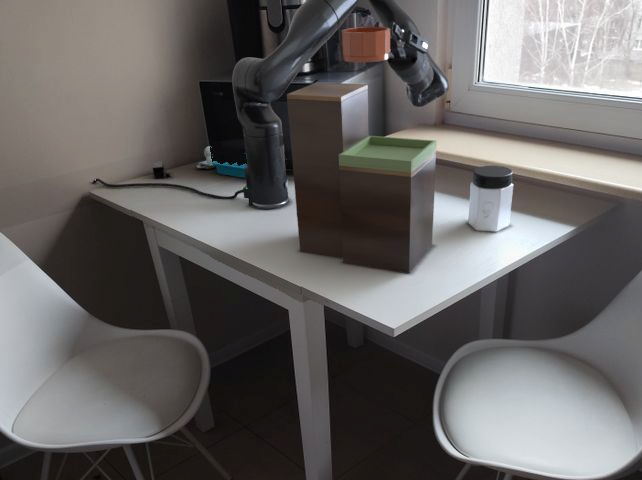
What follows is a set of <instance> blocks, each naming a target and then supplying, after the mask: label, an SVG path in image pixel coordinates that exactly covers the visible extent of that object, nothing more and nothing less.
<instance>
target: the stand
mask: <svg viewBox="0 0 642 480" xmlns="http://www.w3.org/2000/svg"><path fill="white" fill-rule="evenodd" d="M286 102H287V103H286V104H287V113H288V125H289V126H288V127H289V136H290V149H291V150H290V151H291V158H292V175H293V183H294V197H295V208H296V219H297V220H296V222H297V232H298V233H297V234H298V242H299V243H298V244H299V252H301V253H302V252H303V253H310V254H316V255H322V256H327V257H333V258H334V257H335V258H339V259H342V261H343V264H349V265H355V266H362V267H368V268H374V269H380V270H385V271H386V270H387V271H392V272H400V273H405V274H410V273H411V272H412V271H413V269H415V267H416V266H417V265H418V263H419V262H420V261H421V260H422V259H423V257H424V256H425V255H426V254H427V253H428V251H429V250H430V249H431V248H432V246H433V234H434V213H435V212H434V211H435V186H436V185H435V184H436V159H437V151H436V152H434V153H433V154H432V155H431V156H430V157H429V158H427V159H426V160H425V161H424V162H423V163H422V164H420V165H419V166H418V167H417V168H416V169H415V170H413V171H412V172H401V171H391V170H381V169H370V168H360V167H349V166H339V154H341V153H342V152H344V151H345V150H347V149H348V148H350V147H352V146H353V145H355V144H356V143H358V142H360V141H361V140H363V139H364V138H366V137H368V136H370V135H369V134H370V133H369V85H368V84H367V83H366V84H365V83H345V82H344V83H343V82H342V83H341V82H320V81H319V82H314V83H311V84H309V85H307V86H304V87H301V88H299V89H297V90H294V91H291V92H289V93H287V94H286Z"/></svg>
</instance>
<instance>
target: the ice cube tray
mask: <svg viewBox="0 0 642 480" xmlns="http://www.w3.org/2000/svg"><path fill="white" fill-rule="evenodd" d="M212 164H213V165H215V168H216V169H215V170H216V172H217V174H220V175H225V176H232V177H237V178H245V179H246V177H245V167H246V166H247V164H246V163H245V164H243V165H240V166H239V165H238V164H237V162H236V163H234V164H232V165H230V164H229V163H228V162H225V163H223V164H220V163H218V162H217V161H213V162H212Z"/></svg>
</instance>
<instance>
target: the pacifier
mask: <svg viewBox="0 0 642 480" xmlns="http://www.w3.org/2000/svg"><path fill="white" fill-rule="evenodd" d="M210 147H211V146H210V145H208V146H206V147H205V148H204V151H203V155H204V157H205V159H206V160H204V161H200V162H197V165H196V168H197V169H206V170H211V169H214V168H216V165H213V164H212V159H211V152H210Z"/></svg>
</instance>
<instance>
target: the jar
mask: <svg viewBox="0 0 642 480" xmlns="http://www.w3.org/2000/svg"><path fill="white" fill-rule="evenodd" d="M513 173H514V172H513V169H511V168H509V167H506V166H503V165H483V166H479V167H476V168H474V170H473V175H472V181H471V182H470V187H469V199H468V200H469V201H468V214H467V215H468V217H467V223H468V224H469V225H470V226H471V227H472V228H473V229H474V230H475V231H482V232H499V231H502V230H503V229H505V228H507V227H509V226H510V220H511V212H512V201H513V195H514V194H513V193H514V183H512V182H513Z"/></svg>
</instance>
